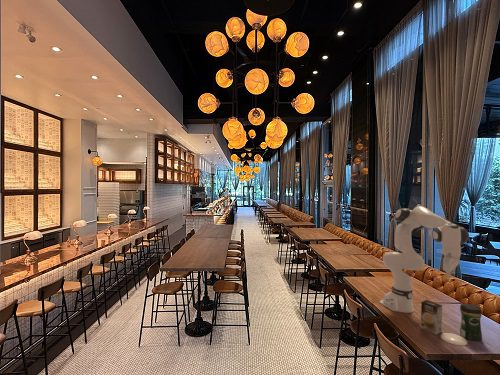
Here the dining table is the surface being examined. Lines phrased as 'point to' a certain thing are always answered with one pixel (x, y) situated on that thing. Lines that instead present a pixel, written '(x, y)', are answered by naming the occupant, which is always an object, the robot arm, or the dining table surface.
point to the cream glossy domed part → (454, 339)
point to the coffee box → (431, 316)
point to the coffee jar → (470, 322)
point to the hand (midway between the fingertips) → (450, 275)
